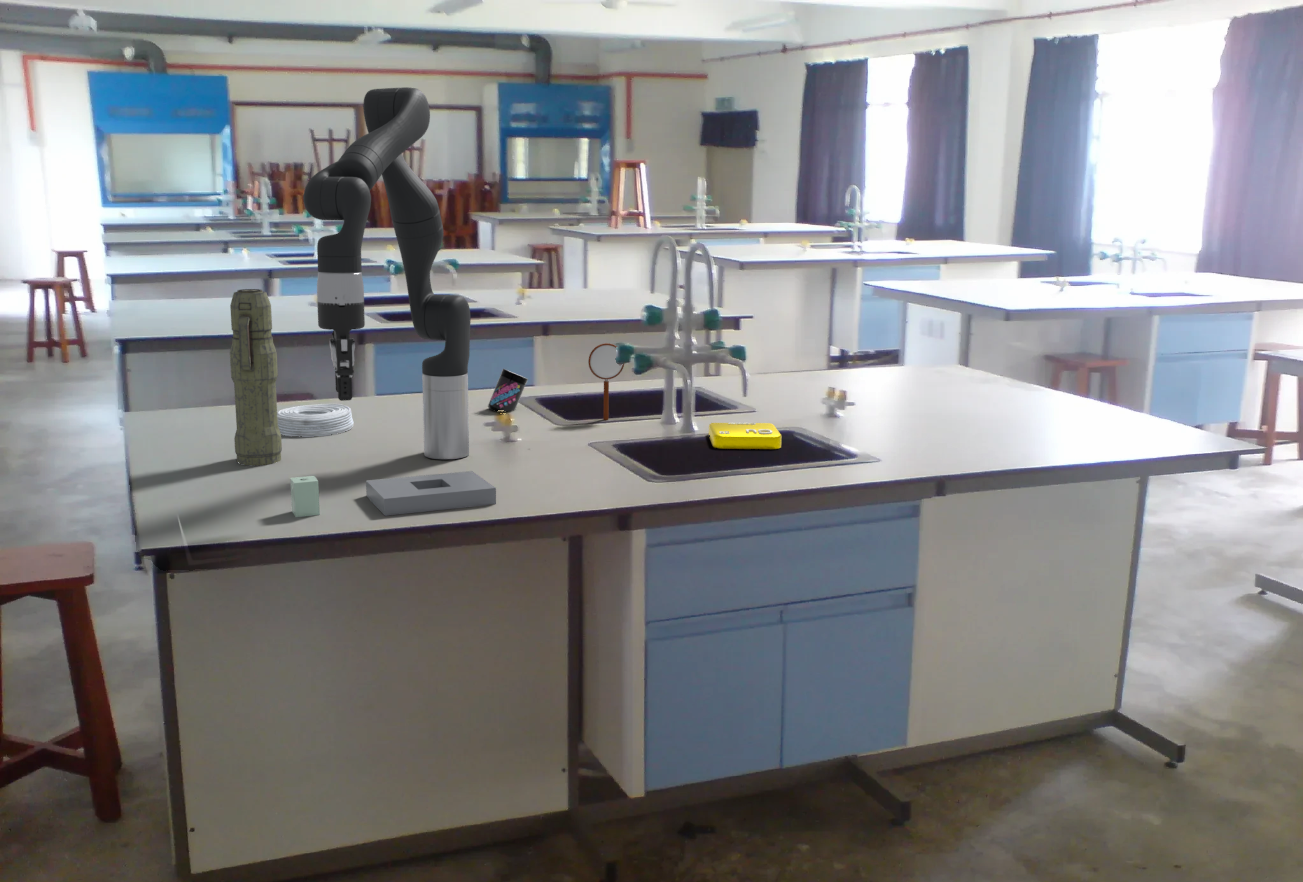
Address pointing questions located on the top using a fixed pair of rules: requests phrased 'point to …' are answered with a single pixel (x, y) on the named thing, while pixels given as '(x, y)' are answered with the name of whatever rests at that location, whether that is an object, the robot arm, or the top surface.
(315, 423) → the cable
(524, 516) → the top surface
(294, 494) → the block
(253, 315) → the thermos
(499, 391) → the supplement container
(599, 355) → the magnifying glass
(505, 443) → the top surface
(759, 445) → the element tile
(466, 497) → the socket box
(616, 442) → the top surface
